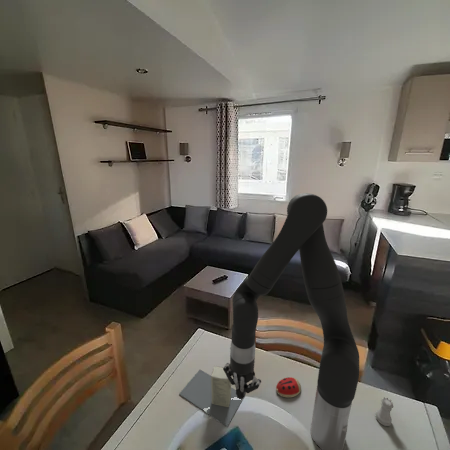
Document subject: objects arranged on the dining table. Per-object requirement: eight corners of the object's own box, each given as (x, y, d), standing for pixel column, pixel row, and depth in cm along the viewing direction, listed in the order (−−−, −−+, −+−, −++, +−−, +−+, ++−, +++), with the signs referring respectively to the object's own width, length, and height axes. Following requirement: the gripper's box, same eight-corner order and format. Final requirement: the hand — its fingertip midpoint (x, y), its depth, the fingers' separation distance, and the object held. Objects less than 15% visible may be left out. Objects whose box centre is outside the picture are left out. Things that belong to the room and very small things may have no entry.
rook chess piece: (375, 409, 79) (380, 391, 77) (391, 418, 77) (397, 400, 75) (373, 420, 76) (378, 401, 74) (390, 430, 73) (395, 411, 71)
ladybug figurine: (305, 393, 85) (306, 386, 84) (281, 402, 82) (282, 395, 81) (293, 378, 91) (294, 370, 90) (271, 386, 88) (272, 378, 87)
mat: (244, 395, 83) (244, 395, 83) (227, 427, 74) (227, 426, 73) (199, 370, 93) (199, 369, 93) (179, 394, 84) (179, 393, 83)
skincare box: (231, 396, 83) (232, 368, 80) (228, 408, 79) (229, 379, 75) (214, 392, 84) (214, 364, 81) (210, 404, 80) (210, 376, 77)
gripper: (267, 353, 71) (264, 397, 76) (230, 336, 78) (228, 378, 82) (257, 371, 65) (254, 418, 70) (217, 351, 72) (217, 395, 76)
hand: (240, 396), depth 76 cm, fingers closed
